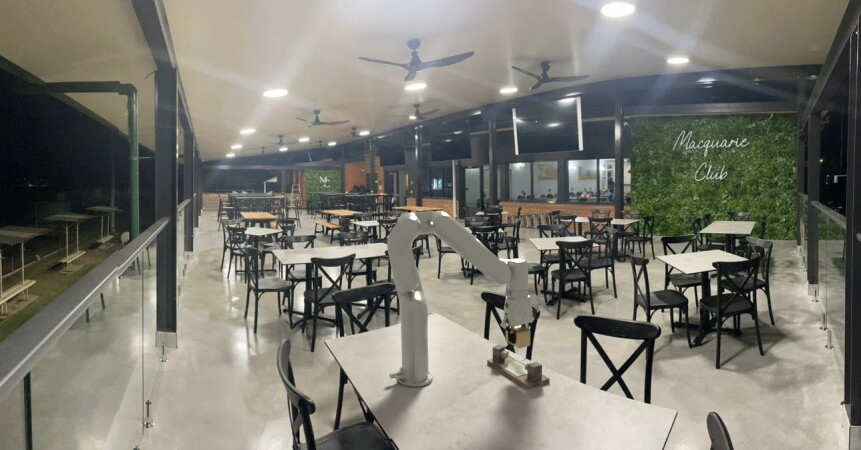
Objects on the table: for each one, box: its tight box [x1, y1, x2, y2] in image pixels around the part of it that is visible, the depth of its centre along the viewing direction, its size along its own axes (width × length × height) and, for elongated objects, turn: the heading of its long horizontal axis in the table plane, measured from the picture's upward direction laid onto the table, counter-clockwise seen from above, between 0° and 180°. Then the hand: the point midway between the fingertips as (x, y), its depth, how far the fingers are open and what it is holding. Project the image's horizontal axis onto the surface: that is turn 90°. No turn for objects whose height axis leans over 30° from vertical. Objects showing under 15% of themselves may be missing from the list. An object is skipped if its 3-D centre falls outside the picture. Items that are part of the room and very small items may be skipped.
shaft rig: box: [486, 344, 550, 390], centre depth 174 cm, size 10×24×7 cm, turn 27°
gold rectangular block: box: [505, 325, 531, 349], centre depth 173 cm, size 5×8×6 cm, turn 27°
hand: (517, 340), depth 173 cm, fingers closed on gold rectangular block, 5 cm apart
